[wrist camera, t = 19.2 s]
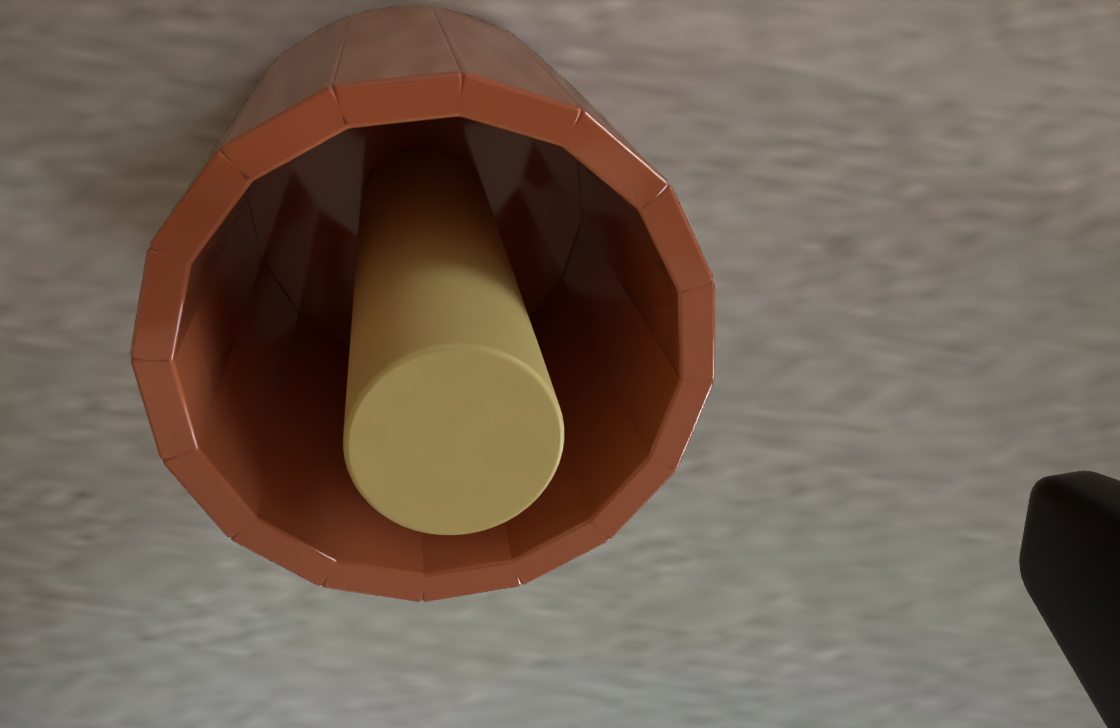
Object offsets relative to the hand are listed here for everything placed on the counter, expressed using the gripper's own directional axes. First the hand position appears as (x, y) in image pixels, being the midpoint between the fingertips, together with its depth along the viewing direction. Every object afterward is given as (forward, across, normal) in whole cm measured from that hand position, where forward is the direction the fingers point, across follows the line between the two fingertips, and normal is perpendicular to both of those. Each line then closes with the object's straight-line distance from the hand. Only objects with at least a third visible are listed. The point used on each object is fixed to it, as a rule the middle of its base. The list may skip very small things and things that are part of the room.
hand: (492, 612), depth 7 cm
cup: (+11, 0, 0) cm, 11 cm away
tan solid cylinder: (+10, 0, 0) cm, 10 cm away
